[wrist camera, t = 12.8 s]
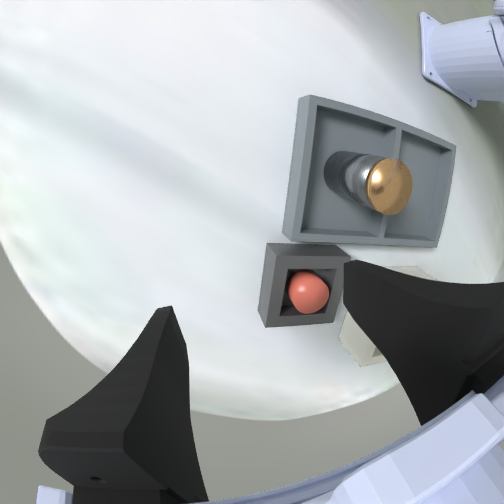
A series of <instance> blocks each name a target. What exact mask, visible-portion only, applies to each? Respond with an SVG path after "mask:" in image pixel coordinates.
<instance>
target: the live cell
mask: <svg viewBox="0 0 504 504" xmlns="http://www.w3.org/2000/svg"><path fill="white" fill-rule="evenodd" d="M323 174H324V180H325V183H326V185H327V186H328V188H329V189H330V190H331V191H333V192H334V193H337V194H339V195H342V196H344V197H346V198H349V199H351V200H353V201H356V202H358V203H360V204H362V205H365V206H367V207H369V208H371V209H374V210H376V211H378V212H380V213H382V214H385V215H394V214H397V213H399V212H400V211H401V210H403V209H404V207H405V206H406V205H407V203H408V201H409V199H410V197H411V193H412V187H413V182H412V176H411V173H410V170H409V169H408V167H407V166H406V165H405V164H404V163H403V162H402V161H400V160H397V159H392V158H386V157H381V156H375V155H369V154H363V153H357V152H350V151H338V152H335V153H333V154H332V155H331V156H330V157H329V158H328V159H327V161H326V163H325V166H324V173H323Z"/></svg>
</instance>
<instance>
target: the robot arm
mask: <svg viewBox="0 0 504 504" xmlns="http://www.w3.org/2000/svg"><path fill="white" fill-rule="evenodd" d="M493 10H494V11H495V13H496V14H495V15H492V16H485V17H478V18H472V19H467V20H462V21H457V22H452V23H448V24H444V25H442V24H441V23H439V22H438V21H436V20H435V19H433V18H432V17H430V16H429V15H427V14H426V13H424V12H422V13H420V23H421V39H422V73H423V76H424V77H425V78H427V79H429V80H431V81H432V82H434V83H436V84H438V85H439V86H441V87H443V88H444V89H446V90H447V91H449V92H451V93H452V94H454V95H455V96H457V97H458V98H460V99H461V100H463V101H464V102H466V103H467V104H469V105H470V106H472V107H474V108H476V107H477V100H484V101H499V102H504V0H498V1H495V4H494V7H493ZM343 303H344V305H345V307H346V308H347V310H348V312H349V313H350V315H351V317H352V318H353V320H354V321H355V322H356V323H357V325H358V326H359V327H360V328H361V329H362V331H363V332H364V333H365V334H366V335H367V337H368V338H369V339H370V340H371V341H372V342H373V344H374V345H375V346H376V347H377V348H378V350H379V351H380V352H381V353H382V354H383V356H384V357H385V358H386V360H387V361H388V363H389V364H390V366H391V368H392V369H393V371H394V372H395V374H396V375H397V377H398V379H399V381H400V383H401V384H402V386H403V388H404V390H405V391H406V393H407V395H408V397H409V399H410V401H411V404H412V406H413V408H414V410H415V412H416V414H417V417H418V419H419V422H420V424H421V427H420V428H418V429H416V430H415V431H413V432H411V433H410V434H408V435H406V436H405V437H403V438H401V439H399V440H397V441H395V442H393V443H392V444H390V445H388V446H386V447H384V448H382V449H380V450H378V451H376V452H374V453H372V454H370V455H368V456H366V457H363V458H361V459H359V460H357V461H354V462H352V463H350V464H347V465H345V466H343V467H340V468H337V469H335V470H332V471H330V472H327V473H324V474H321V475H319V476H316V477H313V478H310V479H307V480H304V481H301V482H298V483H295V484H291V485H288V486H284V487H280V488H276V489H273V490H268V491H264V492H260V493H256V494H251V495H246V496H241V497H235V498H229V499H223V500H216V501H209V500H208V496H207V493H206V490H205V487H204V483H203V479H202V475H201V471H200V466H199V462H198V458H197V453H196V448H195V443H194V438H193V432H192V426H191V419H190V397H189V361H188V354H187V347H186V343H185V340H184V338H183V335H182V332H181V330H180V327H179V324H178V321H177V319H176V316H175V313H174V310H173V307H172V306H167V307H162V308H158V309H157V310H156V311H155V313H154V314H153V316H152V317H151V319H150V320H149V322H148V323H147V325H146V327H145V328H144V330H143V331H142V333H141V334H140V336H139V337H138V339H137V340H136V341H135V343H134V344H133V345H132V347H131V348H130V349H129V351H128V352H127V353H126V355H125V356H124V357H123V358H122V360H121V361H120V362H119V363H118V364H117V365H116V367H115V368H114V369H113V370H112V371H111V372H110V373H109V374H108V375H107V376H106V377H105V378H104V379H103V380H102V381H101V382H99V383H98V384H97V385H96V386H95V387H94V388H93V389H92V390H91V391H89V392H88V393H87V394H86V395H84V396H83V397H82V398H80V399H79V400H78V401H76V402H75V403H74V404H72V405H70V406H69V407H68V408H66V409H64V410H63V411H61V412H59V413H58V414H56V415H54V416H52V417H51V418H49V419H47V420H46V424H45V427H44V431H43V435H42V438H41V442H40V446H39V450H38V452H39V456H40V458H41V459H42V461H43V462H44V463H45V464H46V465H47V466H48V467H49V468H50V469H51V470H53V471H54V472H55V473H57V474H58V475H59V476H61V477H62V478H64V479H65V480H66V481H68V482H69V483H71V484H72V485H74V491H73V493H71V492H68V491H66V490H62V489H56V488H51V487H47V486H42V485H40V486H39V488H38V495H37V502H36V504H504V451H503V450H502V449H501V448H500V446H499V444H500V443H501V442H502V441H503V440H504V282H500V283H489V284H460V283H449V282H441V281H435V280H429V279H424V278H420V277H416V276H412V275H408V274H404V273H401V272H397V271H394V270H391V269H388V268H384V267H381V266H378V265H375V264H371V263H368V262H364V261H359V260H354V261H350V262H346V263H344V295H343Z"/></svg>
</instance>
